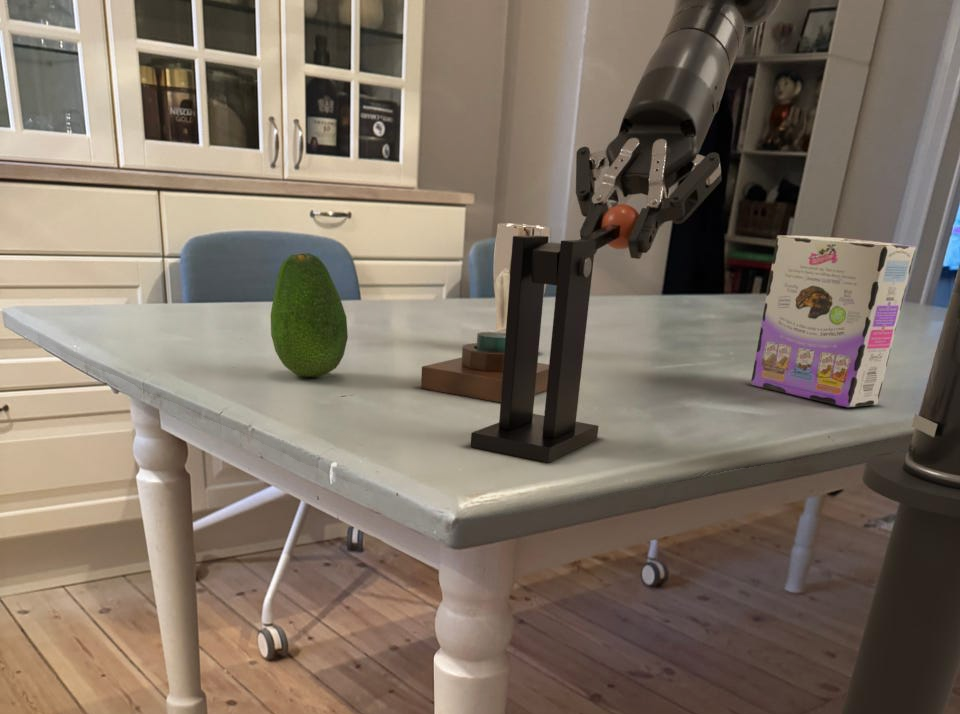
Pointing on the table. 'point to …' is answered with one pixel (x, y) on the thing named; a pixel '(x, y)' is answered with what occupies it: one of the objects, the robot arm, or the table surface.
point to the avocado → (307, 317)
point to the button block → (474, 375)
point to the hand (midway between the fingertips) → (611, 248)
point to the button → (491, 341)
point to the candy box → (831, 317)
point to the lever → (612, 232)
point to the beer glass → (508, 264)
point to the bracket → (525, 301)
